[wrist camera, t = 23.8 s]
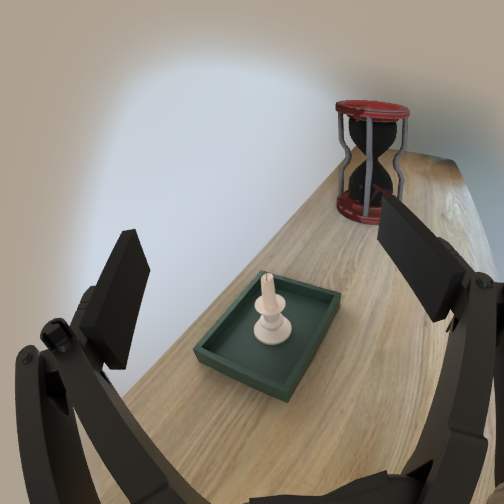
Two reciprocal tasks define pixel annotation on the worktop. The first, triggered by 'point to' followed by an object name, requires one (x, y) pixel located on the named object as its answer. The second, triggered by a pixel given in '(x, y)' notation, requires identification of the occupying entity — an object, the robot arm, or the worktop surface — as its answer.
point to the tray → (262, 355)
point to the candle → (271, 315)
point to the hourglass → (369, 156)
